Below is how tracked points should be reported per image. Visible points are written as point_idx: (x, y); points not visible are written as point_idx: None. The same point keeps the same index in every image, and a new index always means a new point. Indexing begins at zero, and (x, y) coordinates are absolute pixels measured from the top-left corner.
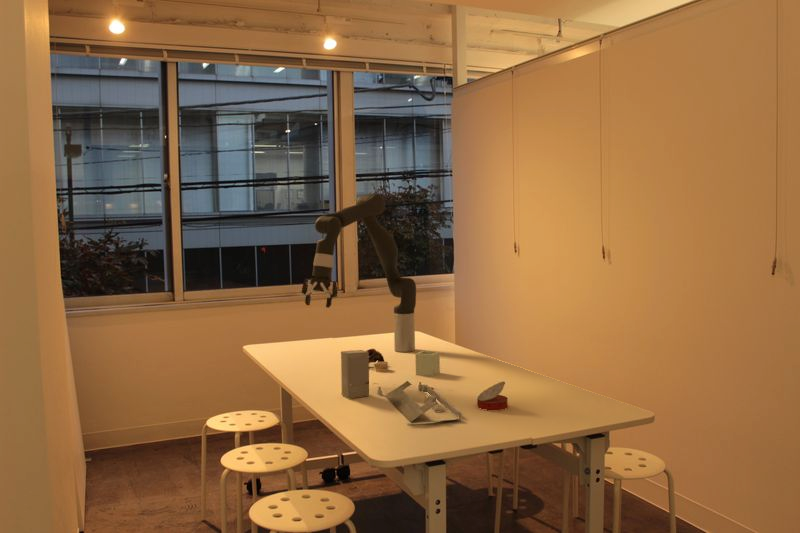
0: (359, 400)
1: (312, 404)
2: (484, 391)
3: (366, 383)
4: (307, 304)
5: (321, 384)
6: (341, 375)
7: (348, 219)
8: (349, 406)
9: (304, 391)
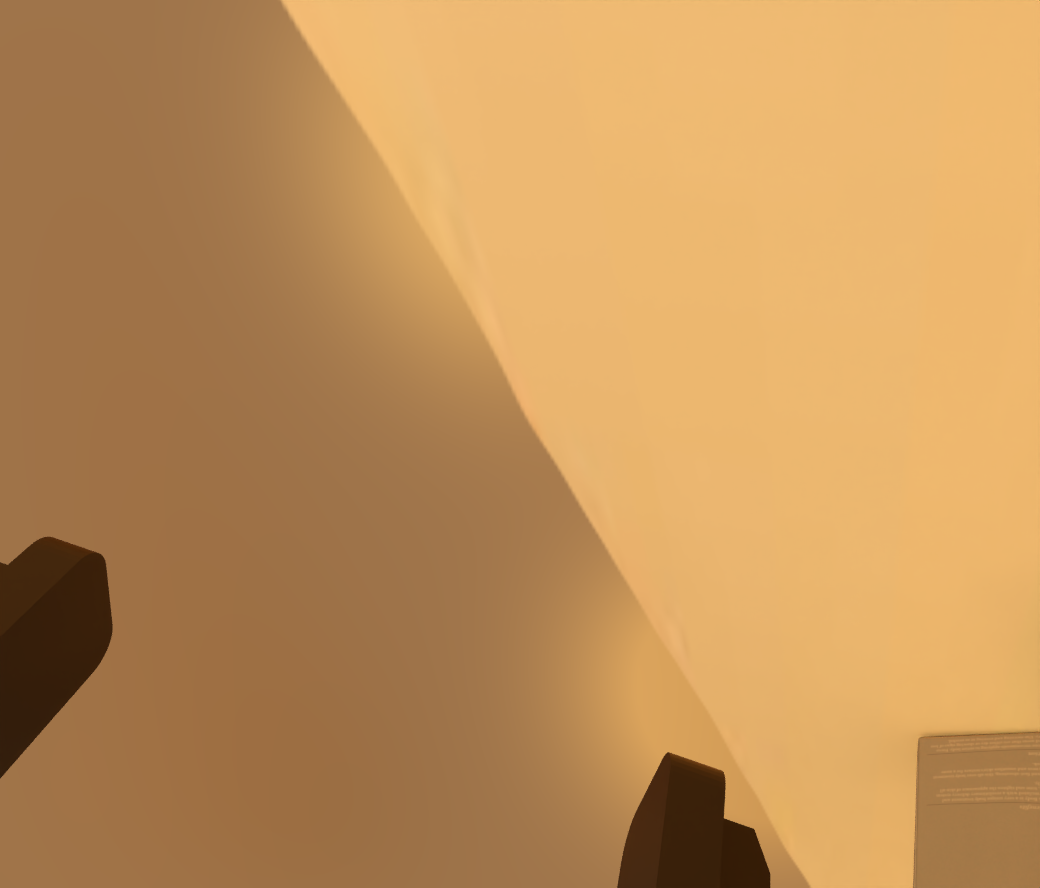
0: None
1: (753, 785)
2: None
3: None
4: (97, 658)
5: (782, 489)
6: (914, 850)
7: None
8: None
9: (682, 604)
